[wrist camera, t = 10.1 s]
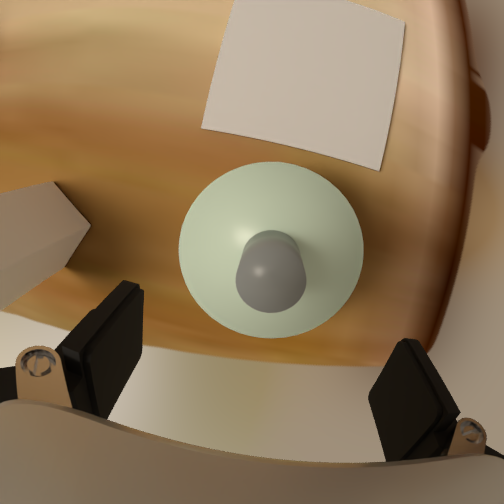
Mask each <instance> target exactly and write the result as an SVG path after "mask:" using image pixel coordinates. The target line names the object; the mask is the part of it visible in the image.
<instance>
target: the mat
mask: <svg viewBox="0 0 504 504" xmlns="http://www.w3.org/2000/svg"><path fill="white" fill-rule="evenodd" d="M404 27H405V22H404V21H402V20H399V19H397V18H394V17H392V16H389V15H387V14H384V13H382V12H379V11H376V10H374V9H371V8H368V7H365V6H362V5H359V4H356V3H353V2H350V1H347V0H234V4H233V7H232V10H231V13H230V17H229V20H228V23H227V27H226V30H225V34H224V37H223V41H222V45H221V48H220V52H219V56H218V59H217V63H216V67H215V71H214V75H213V79H212V83H211V87H210V91H209V96H208V100H207V104H206V108H205V113H204V117H203V122H202V127H201V128H202V129H207V130H213V131H219V132H225V133H230V134H235V135H241V136H246V137H251V138H256V139H260V140H265V141H270V142H274V143H278V144H283V145H287V146H291V147H295V148H299V149H303V150H307V151H311V152H315V153H319V154H323V155H326V156H330V157H333V158H337V159H340V160H344V161H347V162H351V163H354V164H357V165H361V166H364V167H367V168H370V169H373V170H376V171H379V170H380V166H381V162H382V158H383V153H384V149H385V144H386V140H387V135H388V130H389V126H390V121H391V115H392V110H393V105H394V99H395V93H396V88H397V81H398V75H399V68H400V61H401V54H402V46H403V37H404Z"/></svg>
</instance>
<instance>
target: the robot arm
mask: <svg viewBox="0 0 504 504" xmlns="http://www.w3.org/2000/svg"><path fill="white" fill-rule="evenodd" d="M143 303H144V290H142V289H140V286H139V284H136V283H132V282H129V281H125V280H123V281H122V282H121V283H120V284H119V285H118V286H117V287H116V288H115V289H114V290H113V291H112V292H111V293H110V294H109V295H108V296H107V297H106V298H105V299H104V300H103V301H102V302H101V303H100V305H99V306H98V307H97V308H96V309H93V310H91V311H90V312H89V313H88V314H87V315H86V316H85V317H84V318H83V319H82V320H81V321H80V323H79V324H78V325H77V326H76V327H75V328H74V329H73V330H72V331H71V332H70V333H69V335H68V336H67V337H66V338H65V339H64V340H63V341H62V342H61V343H60V344H59V346H58V347H57V348H56V349H55V350H53V349H51V348H49V347H45V346H33V347H29V348H27V349H25V350H23V351H22V352H21V353H20V354H19V355H18V357H17V359H16V364H15V365H16V366H12V367H6V368H0V504H504V455H502V454H500V453H499V452H497V451H495V450H493V449H492V448H490V447H488V446H487V445H486V440H487V438H486V437H487V435H486V432H485V430H484V428H483V427H482V425H481V424H479V423H478V422H477V421H475V420H473V419H471V418H462V419H460V420H459V421H458V422H457V420H456V418H457V416H458V415H459V414H460V413H461V412H460V410H459V409H458V407H457V405H456V403H455V401H454V400H453V398H452V396H451V394H450V392H449V391H448V389H447V387H446V385H445V384H444V382H443V380H442V379H441V377H440V375H439V373H438V372H437V370H436V368H435V367H434V365H433V363H432V362H431V360H430V358H429V357H428V355H427V354H426V352H425V350H424V349H423V347H422V346H421V344H420V342H419V341H418V340H415V339H408V338H404V339H402V340H401V341H399V342H398V343H397V344H396V346H395V348H394V350H393V352H392V354H391V355H390V357H389V359H388V361H387V363H386V365H385V366H384V368H383V370H382V372H381V373H380V375H379V377H378V379H377V381H376V382H375V384H374V385H373V387H372V389H371V390H370V392H369V396H368V400H369V403H370V407H371V410H372V413H373V417H374V420H375V423H376V426H377V430H378V434H379V437H380V441H381V445H382V448H383V452H384V455H385V459H386V462H370V463H328V462H306V461H292V460H281V459H272V458H264V457H256V456H249V455H242V454H236V453H231V452H225V451H220V450H214V449H210V448H205V447H200V446H196V445H191V444H187V443H183V442H179V441H175V440H171V439H168V438H164V437H161V436H157V435H153V434H150V433H146V432H143V431H139V430H137V429H133V428H130V427H127V426H124V425H121V424H118V423H115V422H113V421H110V420H107V419H108V417H109V415H110V413H111V410H112V409H113V407H114V405H115V403H116V401H117V399H118V398H119V396H120V394H121V392H122V390H123V388H124V386H125V384H126V383H127V381H128V379H129V377H130V376H131V374H132V372H133V370H134V368H135V366H136V365H137V363H138V361H139V359H140V357H141V354H142V335H143Z"/></svg>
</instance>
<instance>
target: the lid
mask: <svg viewBox="0 0 504 504" xmlns="http://www.w3.org/2000/svg"><path fill="white" fill-rule="evenodd" d="M363 255H364V254H363V237H362V231H361V228H360V225H359V221H358V219H357V217H356V214H355V212H354V210H353V208H352V207H351V205H350V204H349V202H348V201H347V199H346V198H345V197H344V196H343V194H342V193H341V192H340V191H339V190H338V189H337V188H336V187H335V186H334V185H333V184H331V183H330V182H329V181H328V180H326V179H325V178H323V177H322V176H320V175H319V174H317V173H315V172H313V171H310V170H308V169H306V168H303V167H300V166H297V165H294V164H289V163H282V162H260V163H253V164H249V165H245V166H242V167H239V168H237V169H234V170H232V171H229V172H227V173H226V174H224V175H222V176H221V177H219V178H217V179H216V180H215V181H213V182H212V183H211V184H210V185H208V186H207V187H206V188H205V189H204V190H203V191H202V192H201V193H200V194H199V196H198V197H197V198H196V200H195V201H194V203H193V204H192V205H191V207H190V209H189V211H188V213H187V215H186V217H185V220H184V223H183V225H182V229H181V234H180V239H179V261H180V266H181V271H182V275H183V277H184V280H185V283H186V285H187V287H188V289H189V291H190V293H191V295H192V296H193V297H194V299H195V300H196V302H197V303H198V304H199V305H200V307H201V308H202V309H203V310H204V311H205V312H206V313H207V314H208V315H210V316H211V317H212V318H213V319H214V320H216V321H217V322H219V323H220V324H222V325H224V326H226V327H227V328H229V329H231V330H234V331H236V332H239V333H241V334H245V335H249V336H253V337H260V338H283V337H289V336H294V335H298V334H301V333H304V332H307V331H309V330H311V329H313V328H316V327H317V326H319V325H321V324H322V323H324V322H326V321H327V320H328V319H329V318H331V317H332V316H333V315H334V314H335V313H336V312H337V311H338V310H339V309H340V308H341V307H342V306H343V305H344V304H345V302H346V301H347V300H348V298H349V297H350V295H351V294H352V292H353V290H354V288H355V286H356V284H357V281H358V279H359V276H360V272H361V269H362V263H363Z"/></svg>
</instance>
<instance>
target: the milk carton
mask: <svg viewBox="0 0 504 504" xmlns="http://www.w3.org/2000/svg"><path fill="white" fill-rule="evenodd" d="M90 226H91V225H90V223H89V222H88V221H87V220H86V219H85V218H84V217H83V216H82V215H81V213H80V212H79V211H78V210H77V209H76V208H75V207H74V205H73V204H72V203H71V202H70V201H69V200H68V199H67V197H66V196H65V195H64V194H63V193H62V192H61V190H60V189H59V188H58V187H57V186H56V184H55V183H54V182H53V181H52V182H47V183H42V184H38V185H34V186H29V187H25V188H21V189H17V190H13V191H9V192H5V193H1V194H0V311H1V310H3V309H4V308H5V307H7V306H8V305H10V304H11V303H12V302H14V301H15V300H17V299H18V298H19V297H21V296H22V295H24V294H25V293H27V292H28V291H29V290H31V289H32V288H34V287H35V286H37V285H38V284H40V283H41V282H43V281H44V280H46V279H47V278H49V277H50V276H52V275H53V274H55V273H56V272H58V271H59V270H61V269H62V268H64V267H65V265H66V264H67V262H68V260H69V259H70V257H71V256H72V254H73V252H74V251H75V249H76V248H77V246H78V245H79V243H80V242H81V240H82V239H83V237H84V236H85V234H86V233H87V231H88V230H89V228H90Z"/></svg>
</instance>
